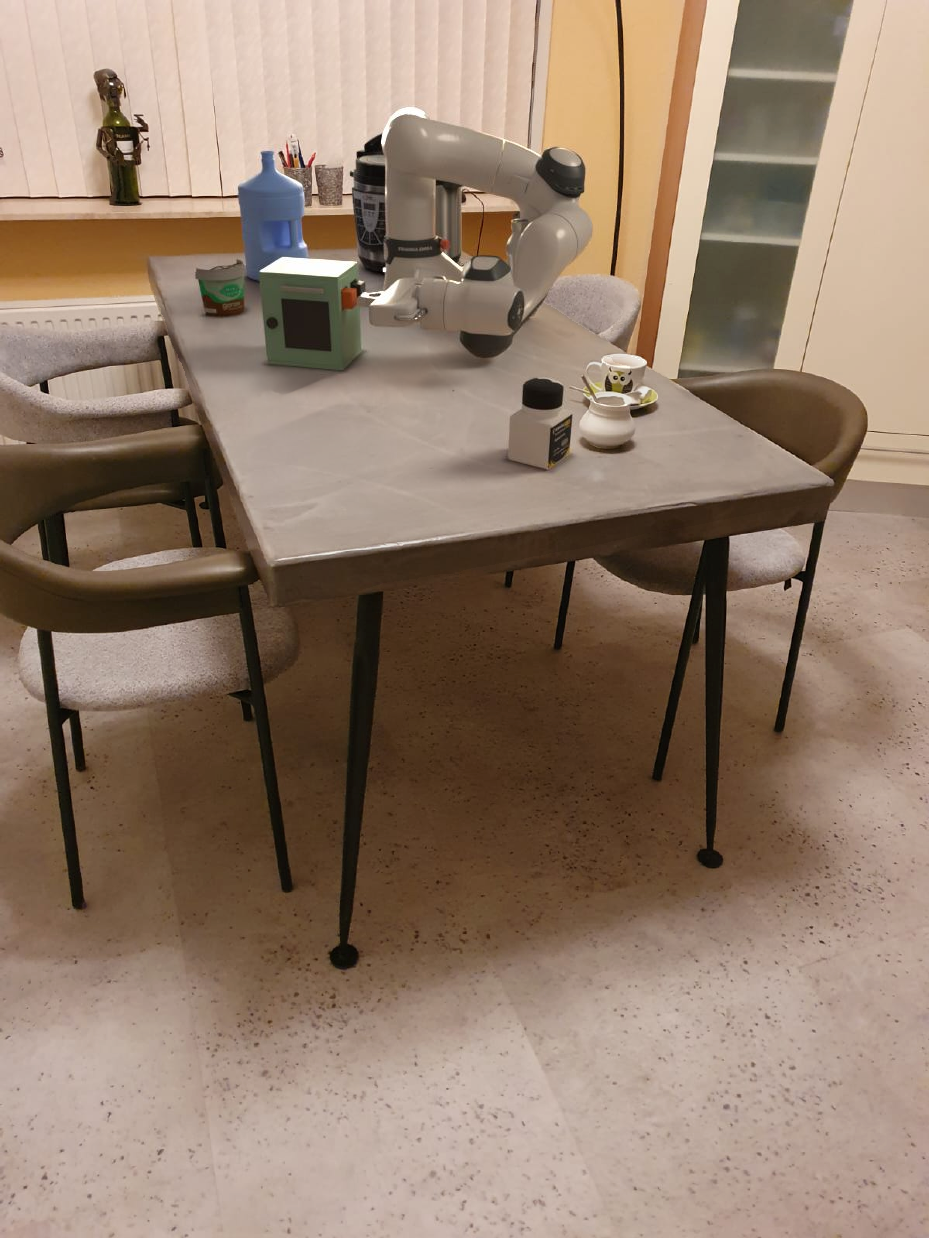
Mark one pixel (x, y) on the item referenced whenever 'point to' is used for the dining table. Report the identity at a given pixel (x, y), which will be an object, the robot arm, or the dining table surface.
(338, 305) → the green box
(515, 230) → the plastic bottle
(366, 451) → the dining table surface
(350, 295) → the button
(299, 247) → the water jug
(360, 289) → the timer button
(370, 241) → the pressure cooker
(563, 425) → the medicine bottle
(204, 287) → the food container
